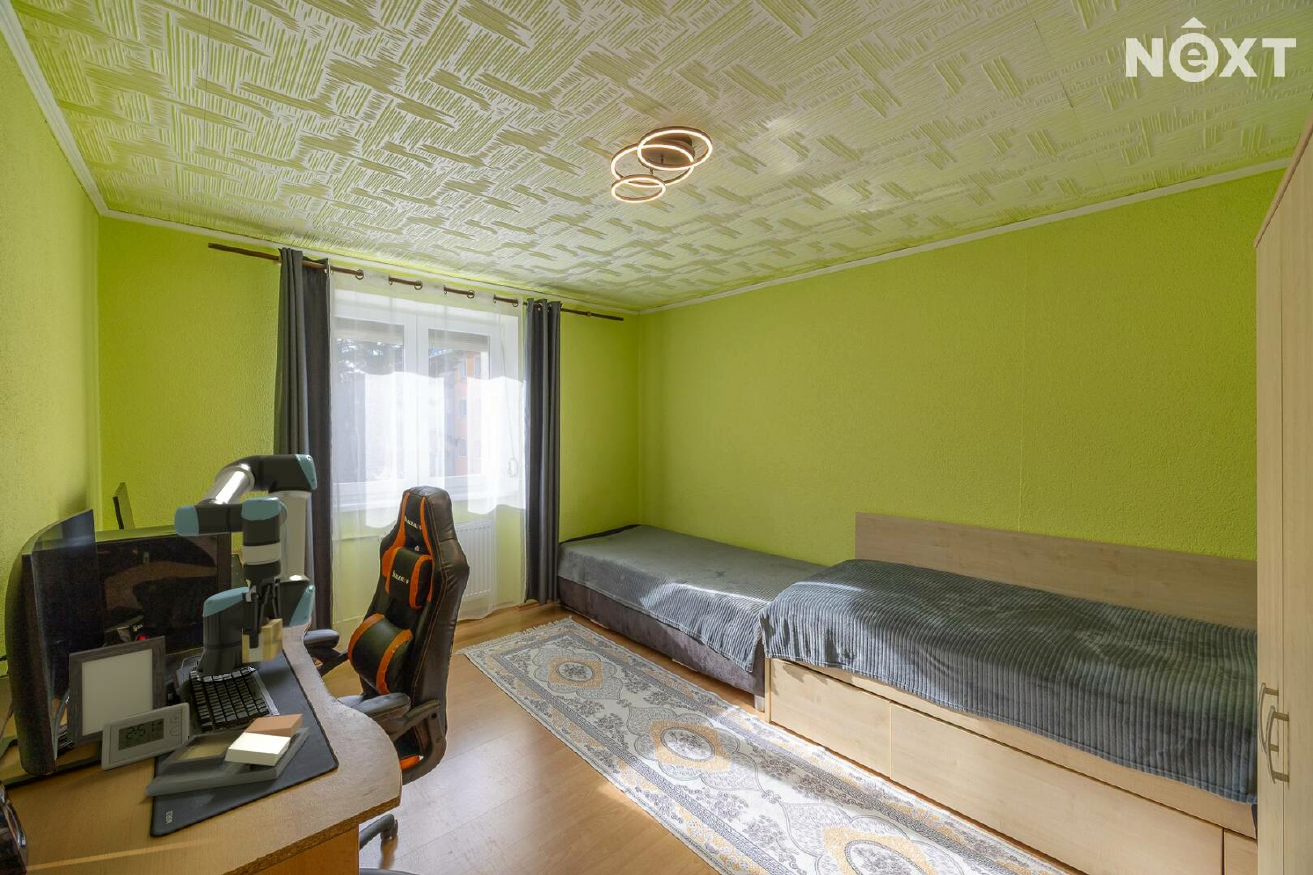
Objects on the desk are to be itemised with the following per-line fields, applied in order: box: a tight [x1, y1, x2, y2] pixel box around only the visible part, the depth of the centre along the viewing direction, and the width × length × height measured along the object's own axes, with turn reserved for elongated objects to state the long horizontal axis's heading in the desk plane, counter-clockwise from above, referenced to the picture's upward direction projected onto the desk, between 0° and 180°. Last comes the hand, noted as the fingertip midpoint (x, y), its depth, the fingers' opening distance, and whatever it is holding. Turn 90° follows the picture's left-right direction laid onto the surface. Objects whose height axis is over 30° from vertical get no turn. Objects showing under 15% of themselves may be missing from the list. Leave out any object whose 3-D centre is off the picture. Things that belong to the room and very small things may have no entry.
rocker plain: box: [225, 732, 291, 766], centre depth 109 cm, size 6×9×2 cm, turn 103°
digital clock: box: [101, 702, 190, 771], centre depth 116 cm, size 14×8×9 cm, turn 119°
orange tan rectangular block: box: [243, 713, 304, 738], centre depth 117 cm, size 6×9×2 cm, turn 103°
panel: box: [145, 726, 310, 798], centre depth 112 cm, size 16×22×4 cm
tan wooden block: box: [242, 617, 284, 663], centre depth 130 cm, size 6×6×9 cm
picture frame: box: [66, 635, 167, 748], centre depth 123 cm, size 16×2×21 cm, turn 133°
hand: (263, 654), depth 130 cm, fingers closed on tan wooden block, 6 cm apart
